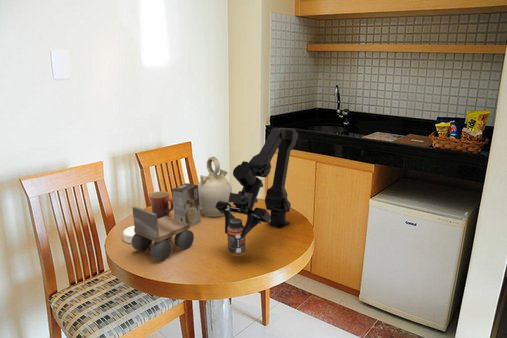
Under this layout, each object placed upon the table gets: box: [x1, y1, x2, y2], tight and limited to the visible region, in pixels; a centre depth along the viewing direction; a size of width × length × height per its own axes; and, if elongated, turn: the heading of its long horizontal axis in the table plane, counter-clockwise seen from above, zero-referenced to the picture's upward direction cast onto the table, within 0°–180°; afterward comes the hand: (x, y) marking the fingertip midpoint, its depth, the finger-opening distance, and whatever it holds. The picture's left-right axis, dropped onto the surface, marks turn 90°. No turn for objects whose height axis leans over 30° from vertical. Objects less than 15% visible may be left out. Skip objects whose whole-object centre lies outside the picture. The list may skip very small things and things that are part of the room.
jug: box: [197, 156, 233, 218], centre depth 168 cm, size 15×16×25 cm
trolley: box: [130, 206, 195, 262], centre depth 137 cm, size 17×13×17 cm
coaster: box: [122, 225, 135, 244], centre depth 148 cm, size 10×10×4 cm
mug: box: [148, 190, 174, 219], centre depth 165 cm, size 12×9×10 cm
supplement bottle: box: [226, 217, 247, 256], centre depth 128 cm, size 6×6×11 cm
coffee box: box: [171, 182, 201, 228], centre depth 158 cm, size 9×6×16 cm
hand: (234, 235), depth 127 cm, fingers closed on supplement bottle, 6 cm apart
